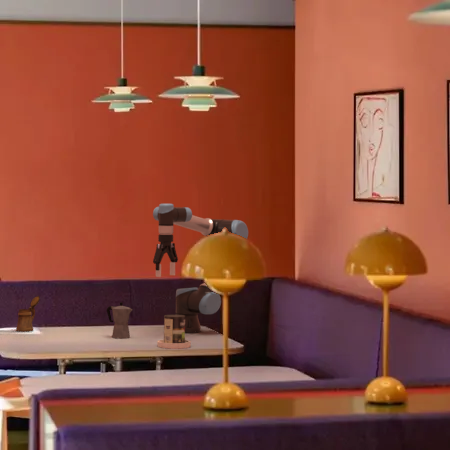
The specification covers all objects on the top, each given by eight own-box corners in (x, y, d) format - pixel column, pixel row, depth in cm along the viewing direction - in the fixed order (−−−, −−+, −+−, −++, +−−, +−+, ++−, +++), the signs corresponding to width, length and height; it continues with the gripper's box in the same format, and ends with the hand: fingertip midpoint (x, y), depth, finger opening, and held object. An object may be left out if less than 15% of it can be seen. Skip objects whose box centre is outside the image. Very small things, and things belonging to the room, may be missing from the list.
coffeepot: (136, 337, 611) (137, 302, 611) (126, 339, 603) (127, 303, 602) (111, 335, 619) (112, 300, 618) (101, 337, 611) (101, 301, 610)
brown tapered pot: (43, 330, 636) (44, 296, 635) (22, 332, 626) (22, 297, 626) (34, 328, 642) (34, 294, 641) (12, 330, 633) (12, 296, 632)
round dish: (168, 343, 592) (168, 338, 592) (196, 345, 584) (196, 340, 584) (151, 346, 578) (151, 341, 578) (179, 349, 570) (179, 344, 570)
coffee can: (187, 343, 586) (187, 314, 585) (182, 346, 575) (182, 317, 575) (166, 342, 588) (167, 314, 587) (161, 345, 578) (161, 316, 577)
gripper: (172, 232, 620) (171, 273, 621) (146, 234, 598) (145, 277, 599) (184, 233, 617) (184, 274, 617) (159, 235, 595) (158, 278, 596)
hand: (165, 276), depth 608 cm, fingers open, 13 cm apart
